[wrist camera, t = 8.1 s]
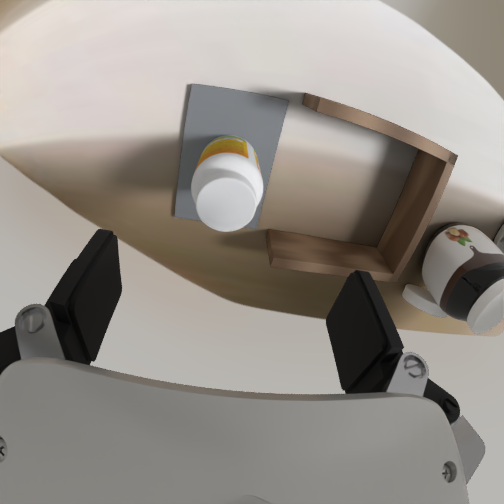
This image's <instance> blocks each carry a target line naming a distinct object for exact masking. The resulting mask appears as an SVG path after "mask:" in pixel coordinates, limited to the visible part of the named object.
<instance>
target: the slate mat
mask: <svg viewBox="0 0 504 504" xmlns="http://www.w3.org/2000/svg"><path fill="white" fill-rule="evenodd" d="M288 102H289V101H288V100H284V99H280V98H275V97H271V96H266V95H261V94H256V93H251V92H246V91H240V90H235V89H228V88H222V87H215V86H207V85H199V84H192V86H191V92H190V97H189V103H188V109H187V115H186V122H185V129H184V136H183V143H182V151H181V159H180V167H179V176H178V185H177V195H176V206H175V217H176V218H184V219H191V220H198V221H202V220H201V219H200V217H199V216H198V213H197V210H196V204H195V202H194V200H193V197H192V193H191V183H192V178H193V175H194V172H195V170H196V167H197V165H198V162H199V159H200V157H201V154H202V152H203V150H204V148H205V147H206V146H207V145H208V144H209V143H210V142H211V141H212V140H214V139H216V138H218V137H221V136H227V135H231V136H237V137H240V138H242V139H244V140H246V141H247V142H248V143H249V144H250V145H251V146H252V147H253V148H254V150H255V152H256V155H257V158H258V162H259V167H260V171H261V175H262V179H263V194H262V198H261V200H260V202H259V204H258V206H257V207H256V211H255V214H254V216H253V218H252V219H251V221H250V222H249V223H248V224H247V225H245V226H244V227H245V228H251V229H256V228H257V224H258V220H259V216H260V212H261V208H262V204H263V200H264V196H265V192H266V189H267V185H268V181H269V177H270V173H271V169H272V165H273V161H274V157H275V153H276V149H277V145H278V141H279V137H280V133H281V130H282V126H283V122H284V118H285V114H286V110H287V106H288Z"/></svg>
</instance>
